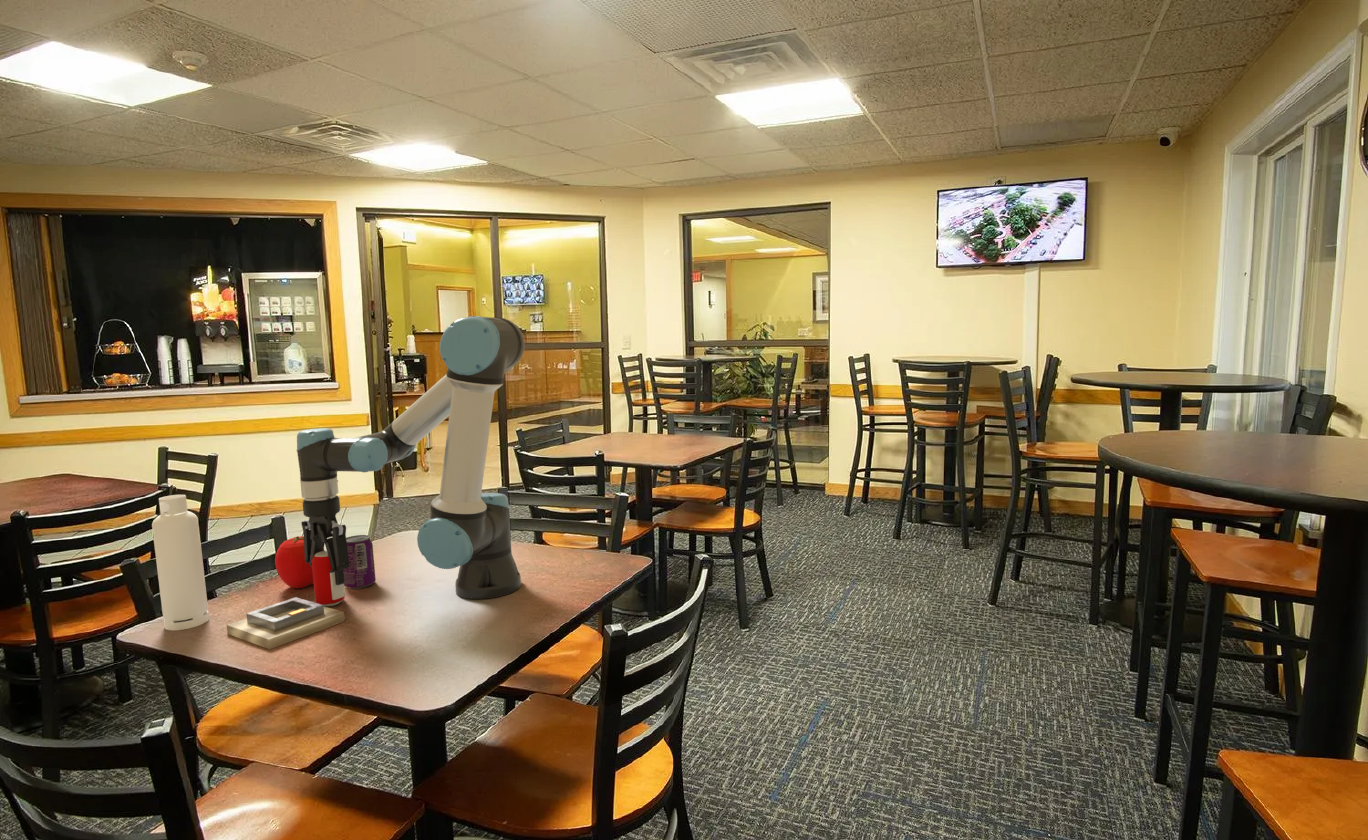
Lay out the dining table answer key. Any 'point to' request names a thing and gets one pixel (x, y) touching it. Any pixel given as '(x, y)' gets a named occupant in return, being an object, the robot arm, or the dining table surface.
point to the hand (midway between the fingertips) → (329, 595)
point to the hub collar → (302, 613)
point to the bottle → (179, 564)
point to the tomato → (293, 563)
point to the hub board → (285, 635)
